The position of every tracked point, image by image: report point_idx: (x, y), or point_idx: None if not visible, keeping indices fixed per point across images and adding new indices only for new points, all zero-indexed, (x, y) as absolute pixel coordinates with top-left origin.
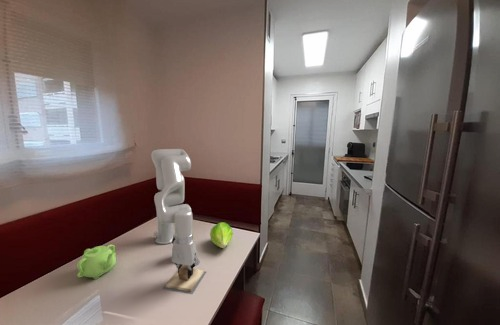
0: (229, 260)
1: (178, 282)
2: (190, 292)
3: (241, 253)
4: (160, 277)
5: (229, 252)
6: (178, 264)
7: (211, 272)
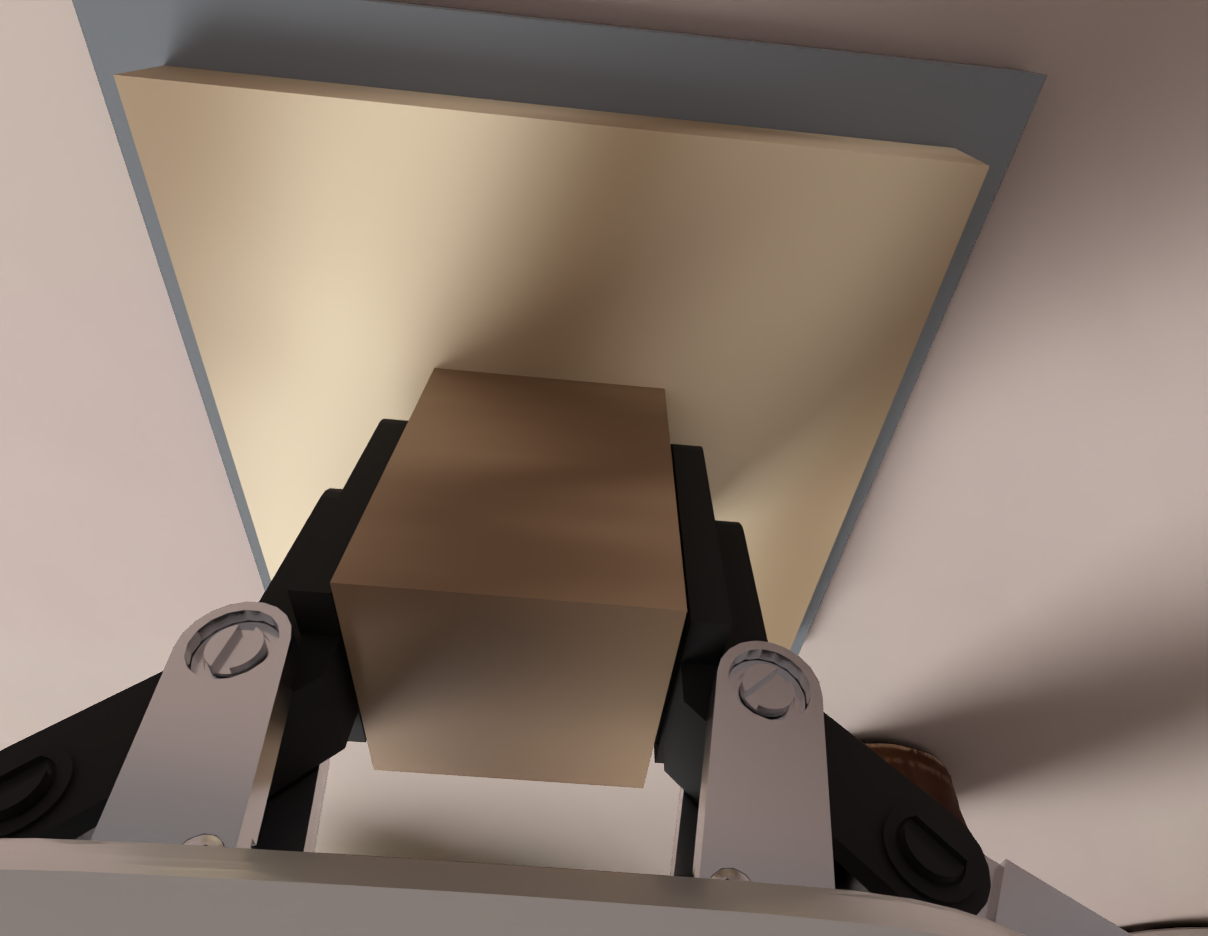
0: None
1: (638, 290)
2: (164, 35)
3: None
4: (1142, 441)
5: None
6: (744, 803)
7: None
